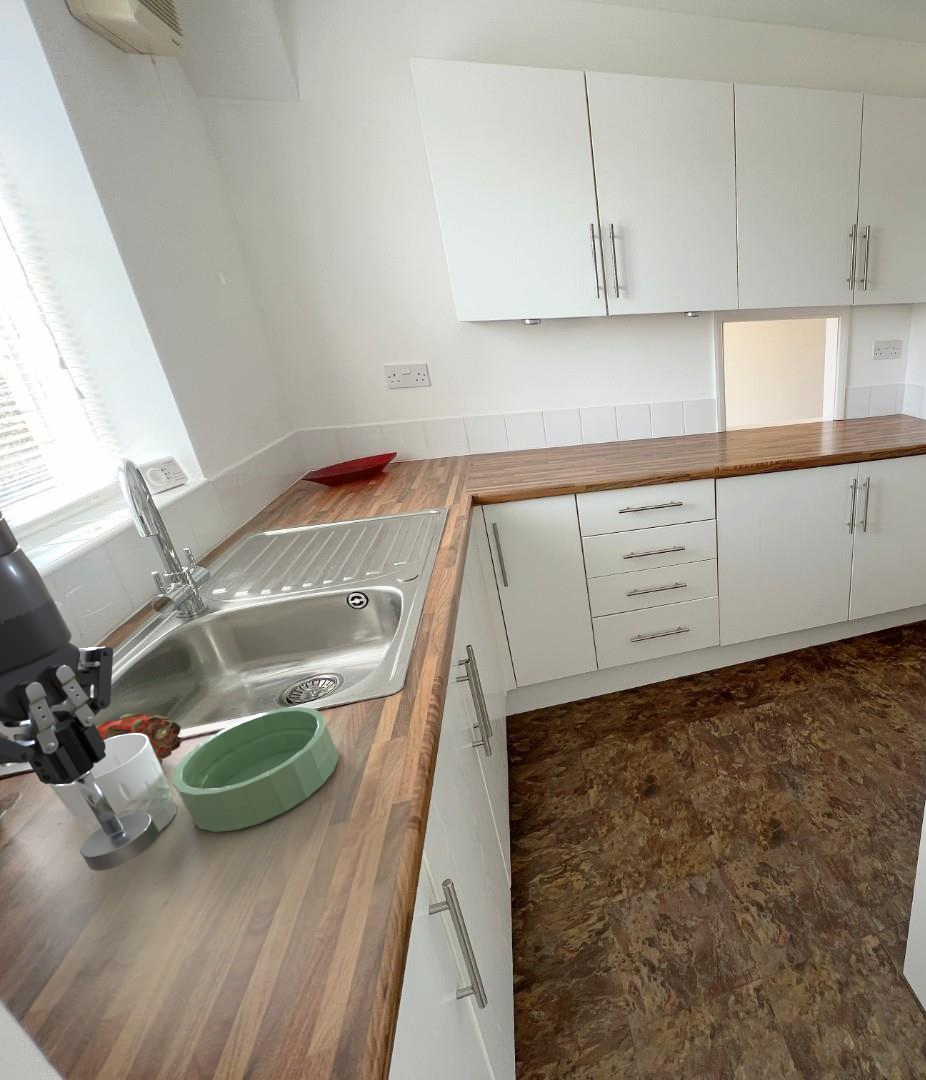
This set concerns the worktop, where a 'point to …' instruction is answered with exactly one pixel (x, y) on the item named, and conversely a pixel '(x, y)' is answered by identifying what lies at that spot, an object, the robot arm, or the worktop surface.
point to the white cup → (124, 784)
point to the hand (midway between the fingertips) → (78, 770)
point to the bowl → (256, 769)
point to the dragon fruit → (146, 731)
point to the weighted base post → (105, 813)
